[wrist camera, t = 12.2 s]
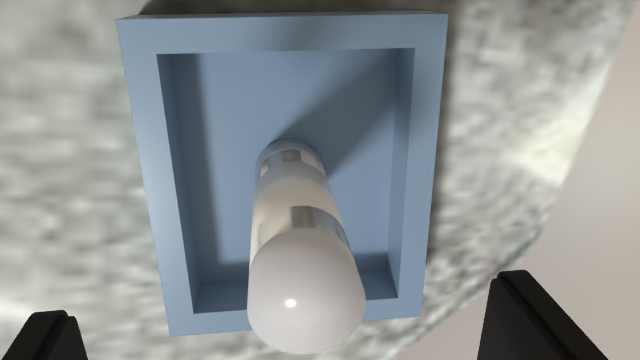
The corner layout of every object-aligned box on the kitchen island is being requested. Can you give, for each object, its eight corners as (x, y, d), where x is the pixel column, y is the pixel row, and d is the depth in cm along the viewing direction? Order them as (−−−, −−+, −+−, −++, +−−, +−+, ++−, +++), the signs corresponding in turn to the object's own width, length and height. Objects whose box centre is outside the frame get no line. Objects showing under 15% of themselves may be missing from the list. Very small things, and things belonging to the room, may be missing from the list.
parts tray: (137, 14, 19) (115, 19, 16) (423, 9, 20) (448, 13, 17) (181, 297, 24) (170, 336, 22) (403, 280, 25) (420, 316, 23)
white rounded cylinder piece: (252, 140, 21) (242, 261, 12) (323, 136, 21) (367, 252, 12) (257, 204, 22) (251, 359, 13) (323, 200, 22) (364, 349, 13)
